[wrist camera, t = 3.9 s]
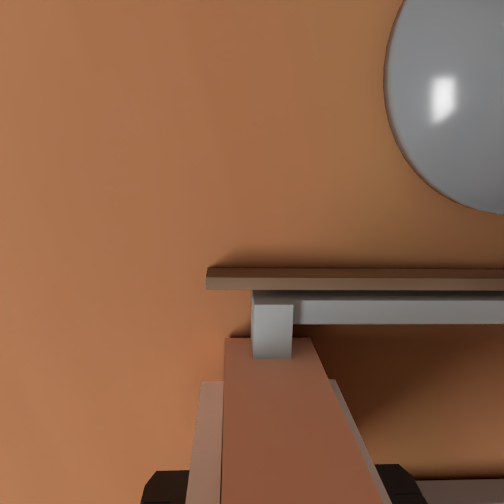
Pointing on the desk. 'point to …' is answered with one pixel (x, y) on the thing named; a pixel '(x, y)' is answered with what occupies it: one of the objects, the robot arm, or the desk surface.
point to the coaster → (450, 96)
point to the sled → (322, 398)
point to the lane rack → (353, 279)
